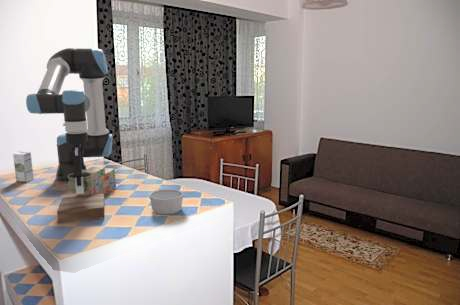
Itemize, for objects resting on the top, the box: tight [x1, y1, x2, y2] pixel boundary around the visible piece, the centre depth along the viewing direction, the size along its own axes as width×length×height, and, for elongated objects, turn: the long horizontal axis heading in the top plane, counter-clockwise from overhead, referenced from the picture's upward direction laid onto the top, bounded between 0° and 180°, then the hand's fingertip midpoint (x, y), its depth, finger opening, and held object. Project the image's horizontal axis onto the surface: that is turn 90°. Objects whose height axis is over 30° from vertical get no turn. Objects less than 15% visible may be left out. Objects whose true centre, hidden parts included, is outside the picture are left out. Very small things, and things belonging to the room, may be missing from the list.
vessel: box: [67, 172, 92, 194], centre depth 140 cm, size 12×9×6 cm
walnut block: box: [56, 194, 106, 224], centre depth 142 cm, size 16×16×5 cm
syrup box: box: [12, 150, 35, 183], centre depth 181 cm, size 6×6×14 cm
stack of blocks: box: [77, 166, 117, 196], centre depth 163 cm, size 21×6×12 cm, turn 170°
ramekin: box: [149, 188, 184, 216], centre depth 146 cm, size 13×13×7 cm
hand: (81, 189), depth 140 cm, fingers closed on vessel, 9 cm apart
